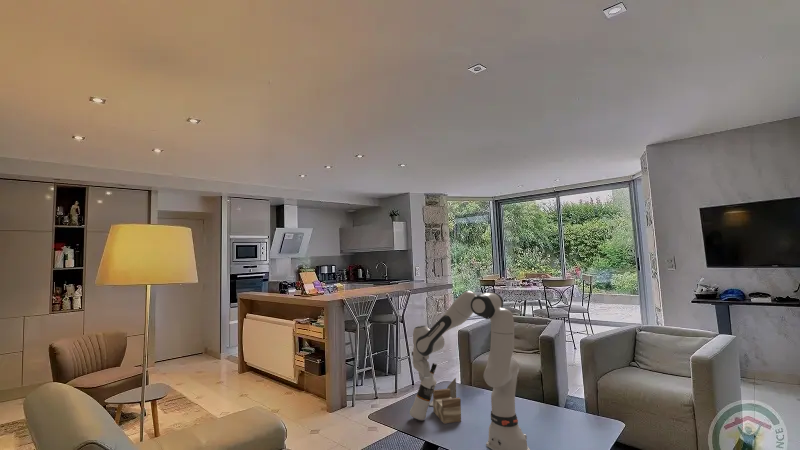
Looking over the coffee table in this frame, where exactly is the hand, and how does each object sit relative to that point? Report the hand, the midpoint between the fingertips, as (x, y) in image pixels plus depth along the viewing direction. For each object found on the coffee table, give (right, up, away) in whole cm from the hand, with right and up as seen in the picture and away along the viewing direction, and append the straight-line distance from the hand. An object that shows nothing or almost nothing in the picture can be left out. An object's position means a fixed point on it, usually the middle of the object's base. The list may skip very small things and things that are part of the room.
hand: (421, 380), depth 213 cm
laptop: (+14, -23, +23) cm, 36 cm away
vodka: (-3, -19, -2) cm, 20 cm away
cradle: (+14, -21, +2) cm, 25 cm away
